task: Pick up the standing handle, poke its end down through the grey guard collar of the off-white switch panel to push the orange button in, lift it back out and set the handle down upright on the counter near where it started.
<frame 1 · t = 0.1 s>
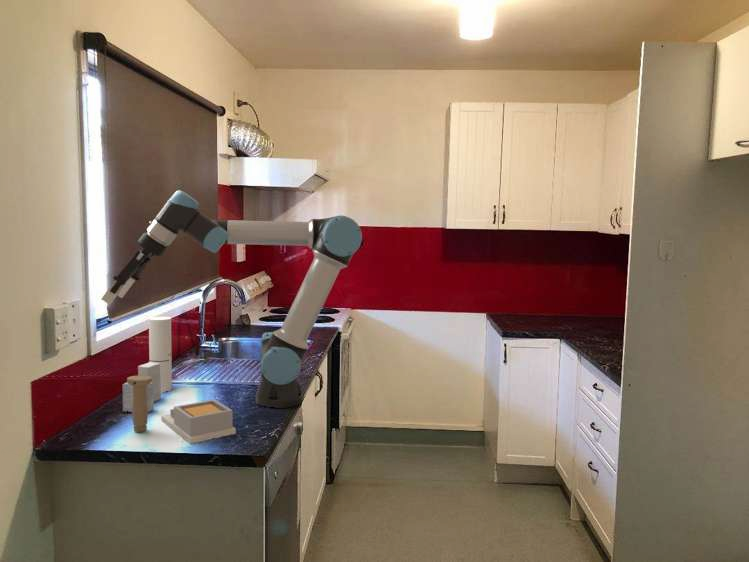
hand: (111, 298, 167), 36 cm above the table, tool tilted 35°, fingers open, 13 cm apart
handle: (140, 431, 163), on the table
switch panel: (197, 426, 167), on the table
skincare box: (149, 401, 190), on the table
medicine box: (138, 411, 180), on the table
button: (203, 414, 163), point 5 cm above the table, slide at 0.0 cm
cylindrical container: (160, 390, 202), on the table
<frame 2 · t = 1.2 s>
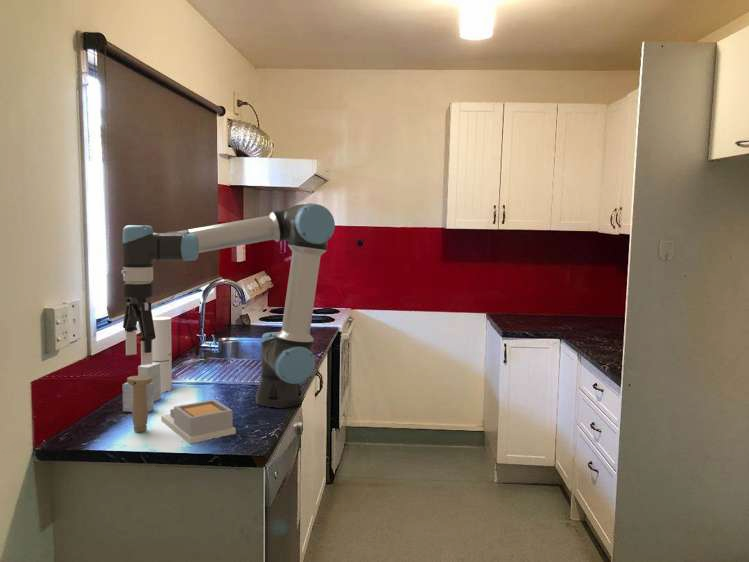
hand: (138, 359, 161), 20 cm above the table, tool pointing down, fingers open, 13 cm apart
nothing on the table moved.
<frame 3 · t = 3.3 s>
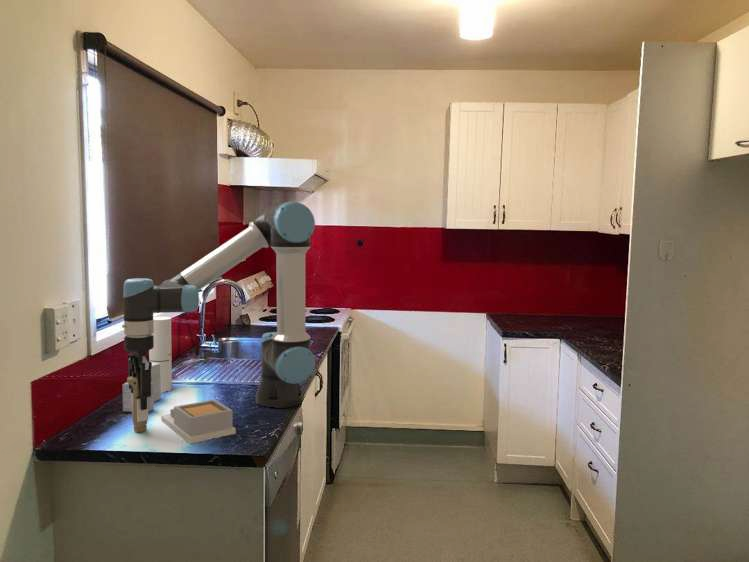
hand: (140, 418, 162), 4 cm above the table, tool pointing down, fingers closed on handle, 4 cm apart
handle: (140, 431, 163), on the table, touching gripper
everything else where it was.
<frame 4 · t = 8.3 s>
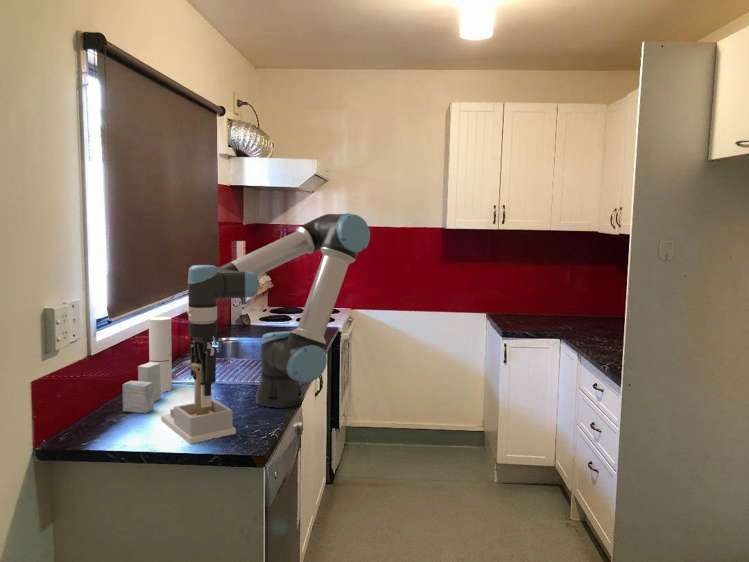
hand: (202, 404, 163), 8 cm above the table, tool pointing down, fingers closed on handle, 4 cm apart
handle: (202, 417, 163), point 4 cm above the table, touching button, gripper
button: (203, 421, 164), point 3 cm above the table, slide at -2.0 cm, touching handle
everything else where it was.
when the fingers open (5 cm above the table, at t = 15.3 s): handle drops 1 cm, on the table.
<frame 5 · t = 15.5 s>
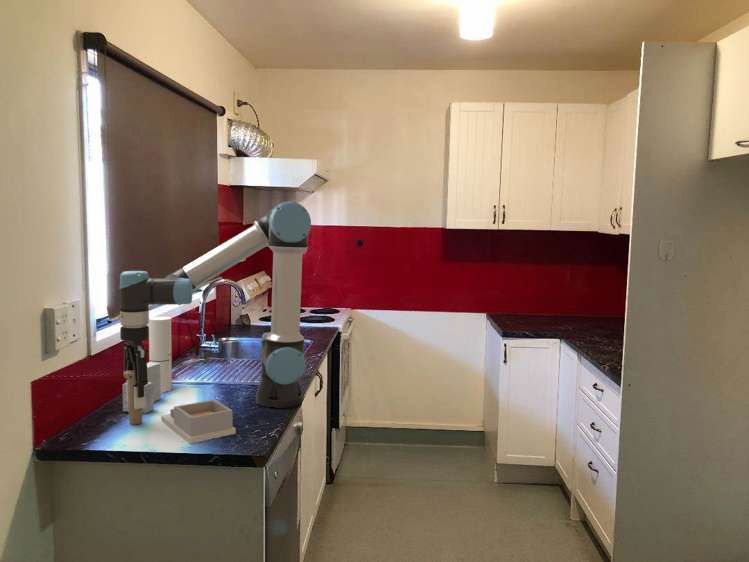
hand: (135, 404, 168), 5 cm above the table, tool pointing down, fingers open, 7 cm apart
handle: (136, 423, 169), on the table
button: (203, 421, 164), point 3 cm above the table, slide at -1.9 cm
everything else where it was.
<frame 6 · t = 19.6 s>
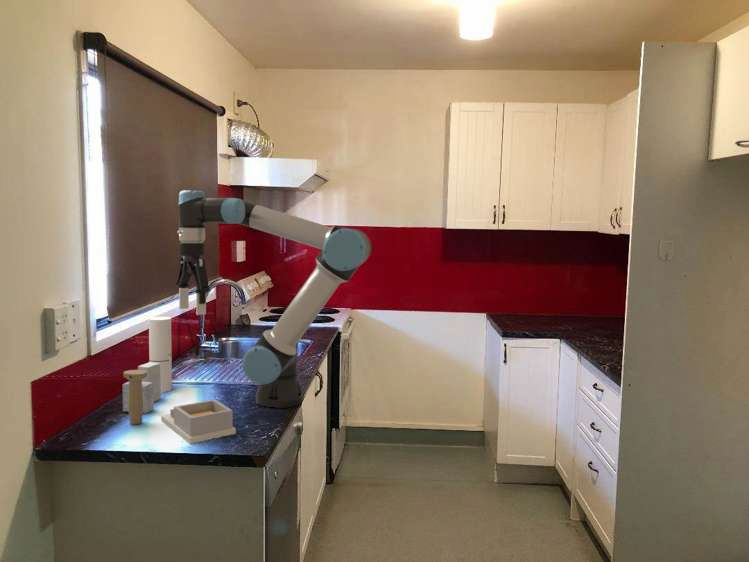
hand: (192, 311, 179), 31 cm above the table, tool pointing down, fingers open, 13 cm apart
nothing on the table moved.
at the end: button slide at -1.9 cm; handle inside the target area (0.0 cm from its centre), on the table; handle tilted 0° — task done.
